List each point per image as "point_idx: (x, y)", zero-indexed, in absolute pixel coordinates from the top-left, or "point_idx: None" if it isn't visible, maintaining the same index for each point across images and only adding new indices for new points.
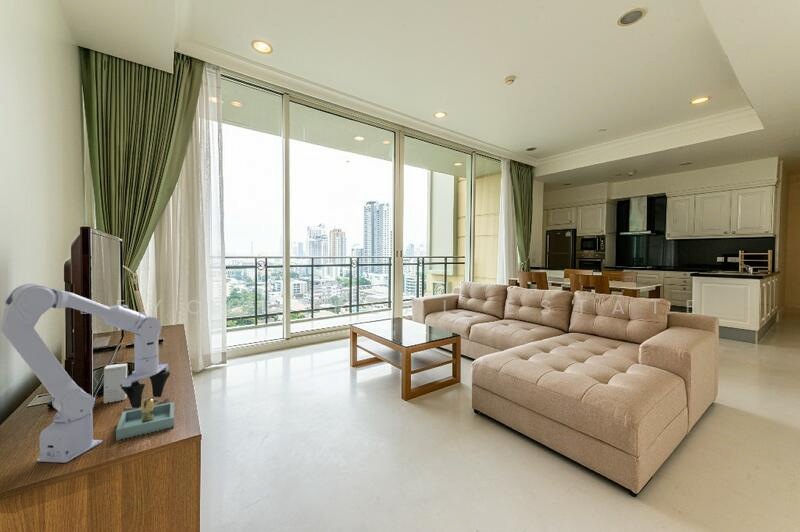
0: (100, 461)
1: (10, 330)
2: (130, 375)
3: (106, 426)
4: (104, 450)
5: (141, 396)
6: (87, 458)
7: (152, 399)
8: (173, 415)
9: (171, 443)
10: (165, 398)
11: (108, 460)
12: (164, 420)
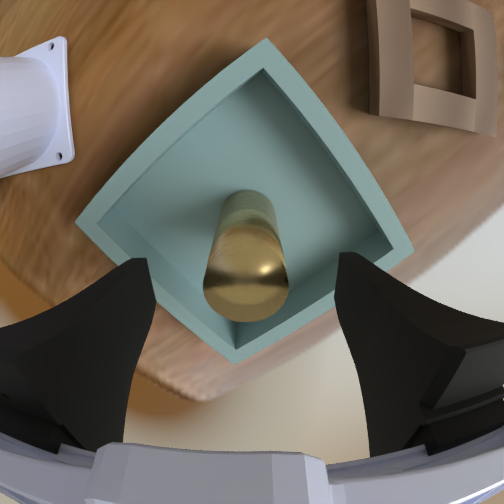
0: (22, 267)
1: None
2: (6, 487)
3: (204, 13)
4: (49, 222)
5: (133, 370)
6: (13, 215)
7: (250, 321)
8: (252, 353)
9: (149, 377)
10: (491, 124)
11: (32, 284)
12: (210, 342)
